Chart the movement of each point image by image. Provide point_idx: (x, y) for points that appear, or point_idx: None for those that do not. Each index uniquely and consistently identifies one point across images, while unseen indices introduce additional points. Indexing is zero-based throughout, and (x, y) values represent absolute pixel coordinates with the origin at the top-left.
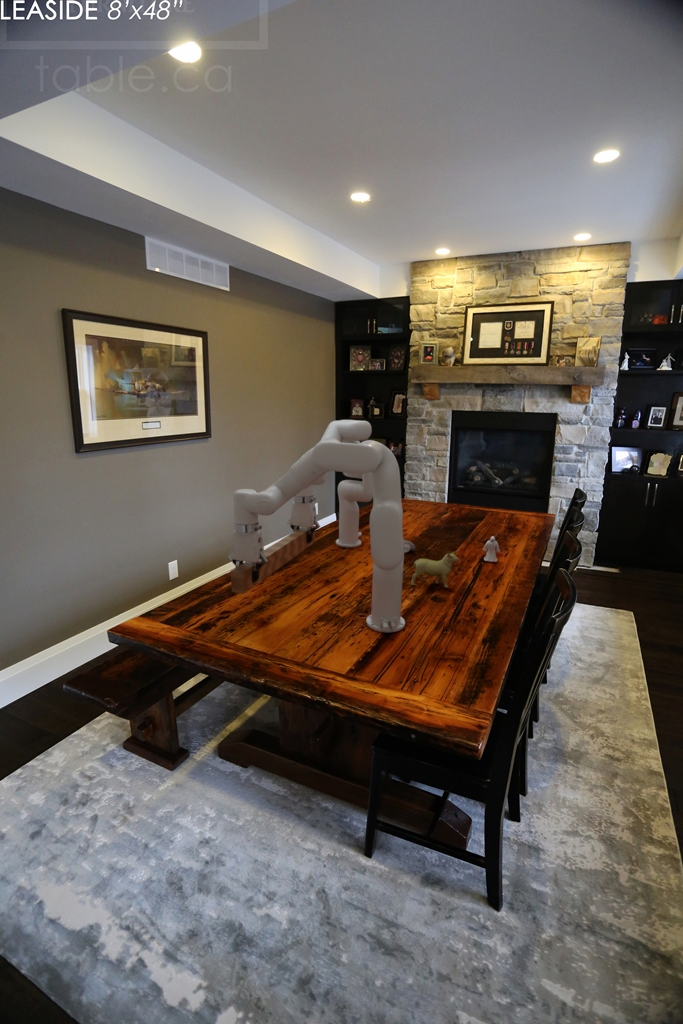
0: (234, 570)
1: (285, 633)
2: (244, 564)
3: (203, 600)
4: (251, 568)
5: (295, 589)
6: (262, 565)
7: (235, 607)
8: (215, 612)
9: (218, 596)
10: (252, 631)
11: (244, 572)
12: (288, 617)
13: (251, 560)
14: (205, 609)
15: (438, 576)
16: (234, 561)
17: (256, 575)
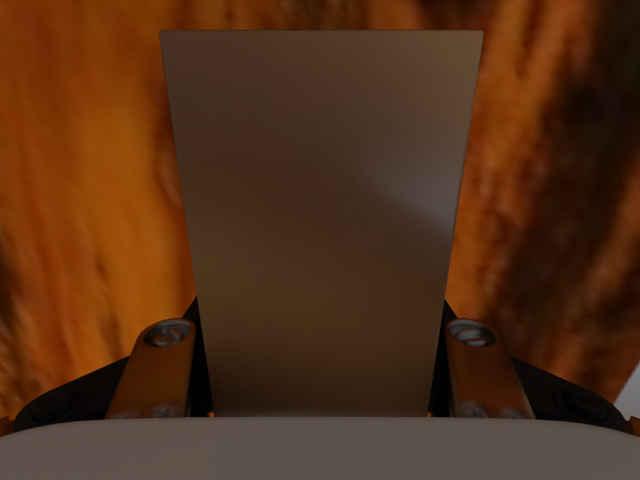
0: (404, 77)
1: (22, 57)
2: (373, 400)
3: (602, 238)
4: (210, 331)
5: None
6: (17, 419)
7: None
8: (486, 139)
9: (544, 299)
10: (185, 5)
11: (174, 98)
12: (123, 223)
13: (104, 450)
14: (553, 151)
15: None
16: (572, 411)
17: (196, 303)
